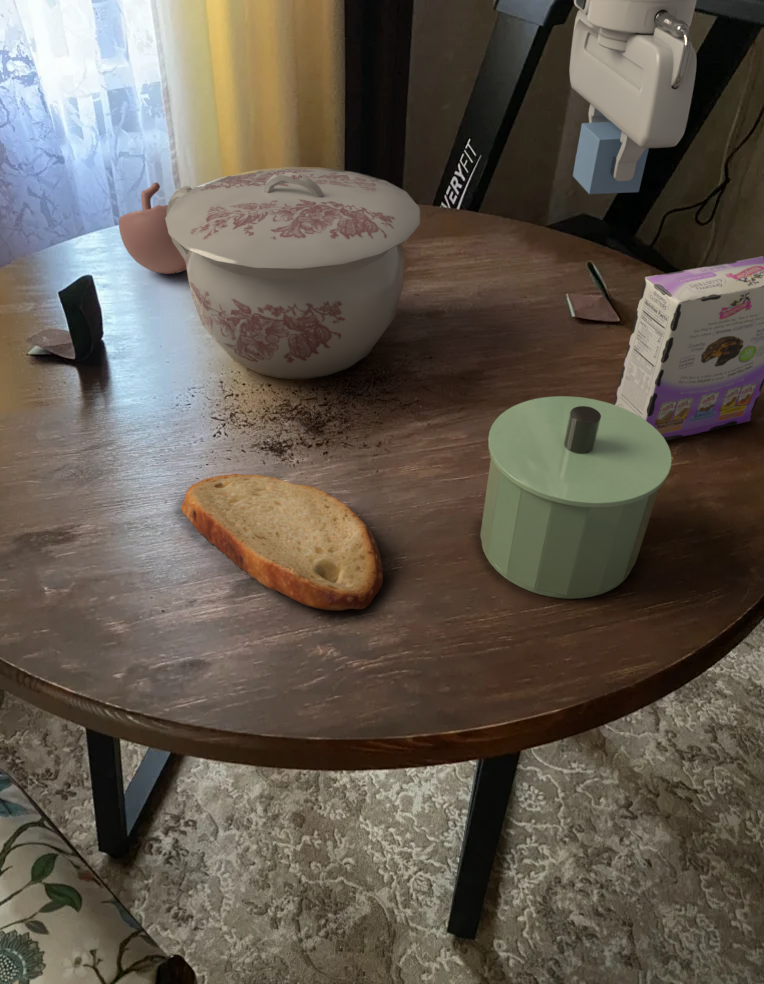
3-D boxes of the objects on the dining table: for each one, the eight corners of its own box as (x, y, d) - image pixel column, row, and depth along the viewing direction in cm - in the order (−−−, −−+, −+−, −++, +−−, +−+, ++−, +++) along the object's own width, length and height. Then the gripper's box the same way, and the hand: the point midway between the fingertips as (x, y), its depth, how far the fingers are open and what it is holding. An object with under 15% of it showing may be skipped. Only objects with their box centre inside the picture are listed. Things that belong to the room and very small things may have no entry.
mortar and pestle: (200, 246, 124) (190, 165, 116) (225, 279, 115) (216, 195, 108) (119, 260, 120) (103, 178, 112) (139, 295, 112) (123, 209, 104)
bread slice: (184, 488, 82) (178, 457, 79) (368, 479, 83) (368, 449, 80) (168, 627, 68) (161, 595, 66) (387, 614, 69) (389, 583, 67)
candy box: (716, 395, 94) (764, 253, 82) (750, 424, 89) (806, 278, 78) (607, 418, 90) (643, 273, 79) (638, 448, 86) (679, 300, 75)
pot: (602, 490, 81) (626, 398, 74) (658, 590, 71) (692, 495, 64) (465, 502, 80) (476, 410, 73) (503, 606, 70) (520, 511, 63)
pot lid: (628, 400, 75) (638, 360, 72) (699, 505, 64) (714, 462, 62) (468, 413, 74) (473, 372, 71) (514, 521, 63) (521, 479, 60)
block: (620, 174, 84) (631, 120, 81) (638, 192, 81) (651, 137, 77) (572, 176, 84) (581, 122, 81) (588, 194, 80) (599, 139, 77)
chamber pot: (451, 384, 95) (468, 201, 81) (215, 433, 88) (189, 241, 74) (364, 281, 115) (366, 119, 101) (165, 314, 108) (137, 145, 94)
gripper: (732, 25, 65) (684, 205, 74) (634, -22, 80) (604, 132, 89) (654, 28, 64) (615, 209, 73) (569, -21, 79) (546, 135, 88)
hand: (608, 166), depth 81 cm, fingers closed on block, 5 cm apart
